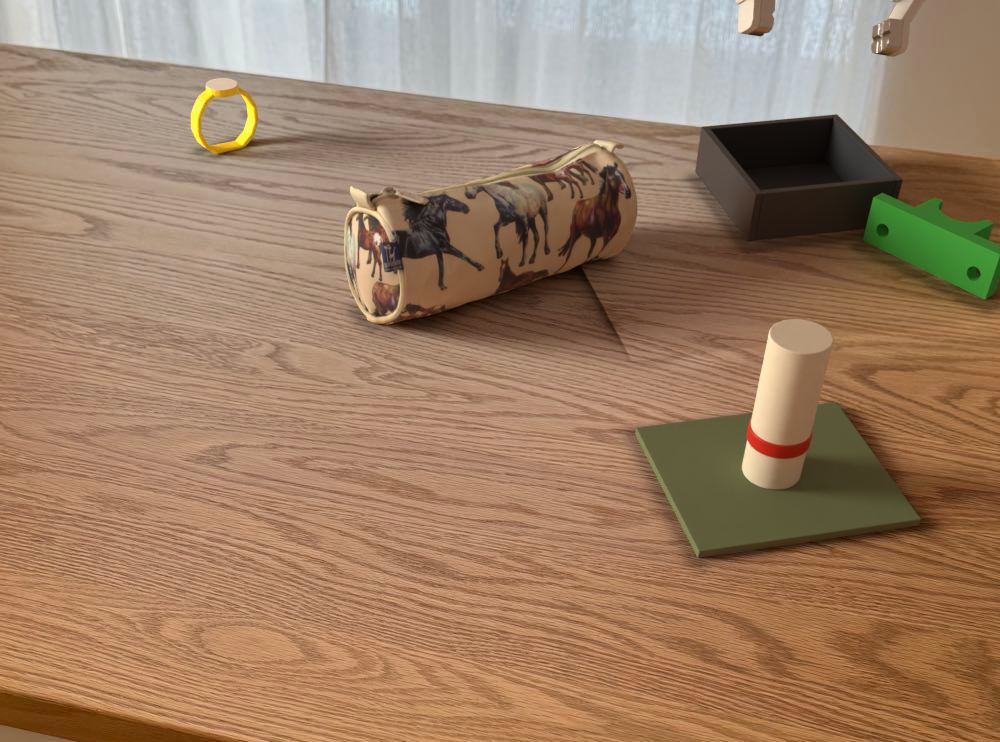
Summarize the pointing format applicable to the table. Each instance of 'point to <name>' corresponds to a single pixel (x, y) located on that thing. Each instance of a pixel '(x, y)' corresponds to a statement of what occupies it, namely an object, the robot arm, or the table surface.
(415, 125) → the table surface
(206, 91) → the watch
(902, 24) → the robot arm
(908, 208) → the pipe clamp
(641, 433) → the mat
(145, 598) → the table surface
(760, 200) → the bin
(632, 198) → the pencil case
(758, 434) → the red-banded cream cylinder
